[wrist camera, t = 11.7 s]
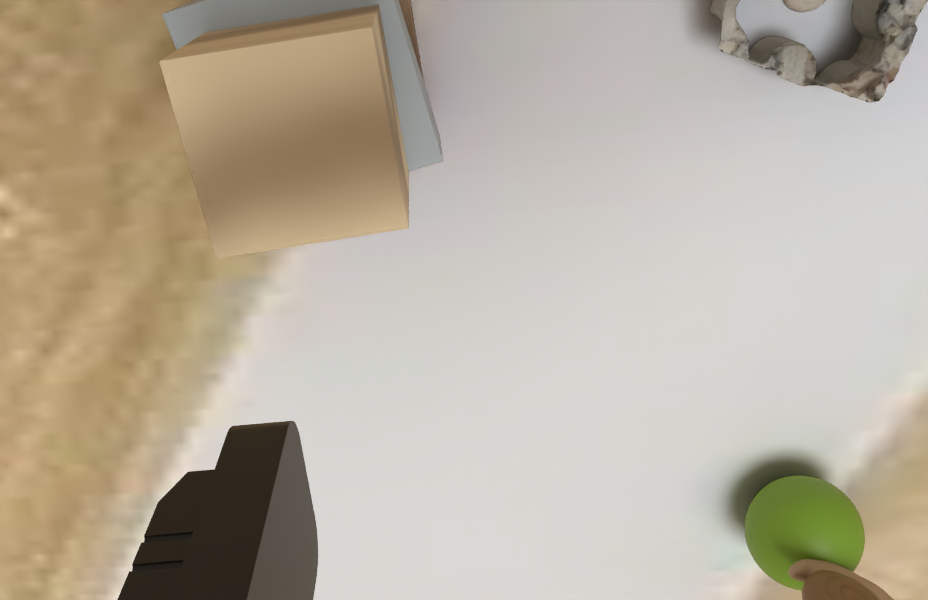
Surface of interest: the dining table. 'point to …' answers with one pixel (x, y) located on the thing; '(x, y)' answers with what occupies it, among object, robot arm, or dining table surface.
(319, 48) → the oak cube
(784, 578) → the snail figurine
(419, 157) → the tower top
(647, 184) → the dining table surface
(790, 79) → the grey stone ruin model
